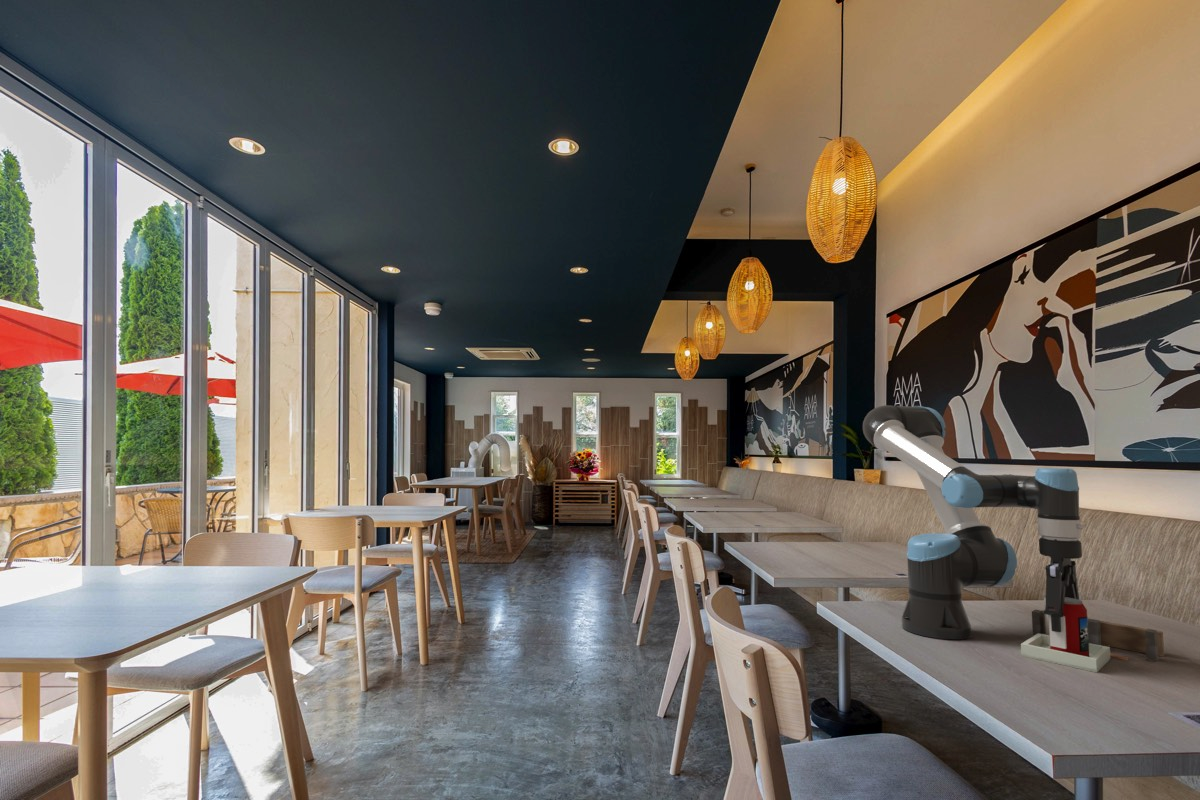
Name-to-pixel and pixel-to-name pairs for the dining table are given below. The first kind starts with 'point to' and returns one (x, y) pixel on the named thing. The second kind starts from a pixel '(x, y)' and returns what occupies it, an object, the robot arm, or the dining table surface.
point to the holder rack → (1115, 636)
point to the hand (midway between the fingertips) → (1064, 642)
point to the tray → (1065, 654)
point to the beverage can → (1075, 628)
